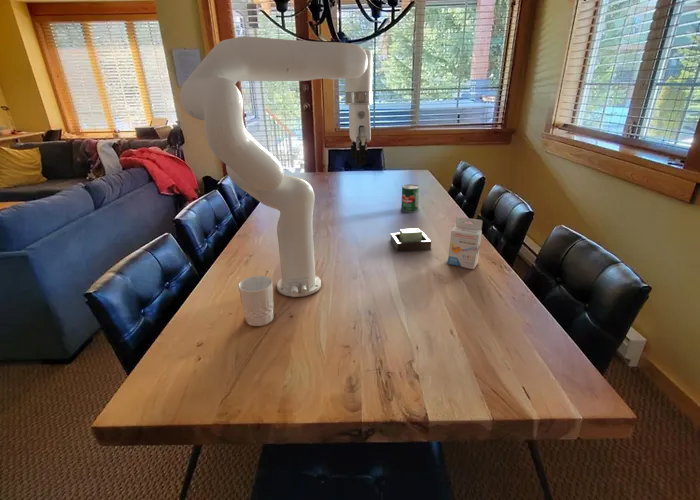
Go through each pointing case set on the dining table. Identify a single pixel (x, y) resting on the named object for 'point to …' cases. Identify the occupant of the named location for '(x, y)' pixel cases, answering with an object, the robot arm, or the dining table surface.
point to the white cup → (257, 300)
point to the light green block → (410, 235)
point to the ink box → (465, 243)
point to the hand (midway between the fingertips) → (358, 161)
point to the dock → (410, 243)
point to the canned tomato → (410, 198)
